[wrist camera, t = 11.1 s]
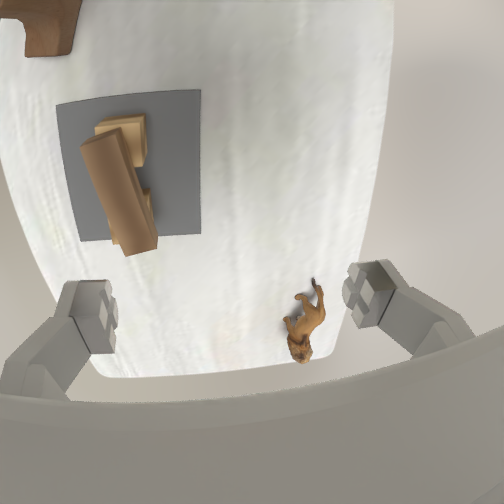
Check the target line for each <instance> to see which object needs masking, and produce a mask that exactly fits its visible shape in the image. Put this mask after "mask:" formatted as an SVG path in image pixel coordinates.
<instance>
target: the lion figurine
mask: <svg viewBox="0 0 504 504" xmlns="http://www.w3.org/2000/svg"><path fill="white" fill-rule="evenodd" d="M312 285H313V287H314V289H315V291H316V293H317V296H318V302H317V306H316V307H315V306H313V305H312V304H311V303H309V302H308V300H307V297H306V296H303V295H301V294H298V295H296V296H295V299H296V300H300V299H301V300H302V301H303V309H304V312H305V315H303V316H297V317H296V320H297V322H296V324H295V327H294V326H293V325H292V324H291V320H290V318H289V317H285V318H283V321H284V322H286V323H287V330H288V332H289V334H288V337H287V341H288V342H287V343H288V347H289V350H290V352H291V355H292V357H293V359H294V360H295V361H297V362H299V363H301V364H303V363H306V362H308V361H309V359H310V357H311V356H312V353H313V351H312V349H311V345H310V341H309V336H310V334H311V332H312V331H313V330H314V328H315V327H317V326H318V325H320V324H321V323H322V322H323V321H324V318H325V315H326V313H325V308H324V304H323V295H324V294H323V291H322V288H321V286H316V284H315V279H313V280H312Z"/></svg>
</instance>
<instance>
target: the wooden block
mask: <svg viewBox="0 0 504 504" xmlns="http://www.w3.org/2000/svg"><path fill="white" fill-rule="evenodd" d="M81 2H82V0H0V18H8V19H18V20H19V21H21V22H22V23H23V25H24V29H25V32H26V42H25V57H27V58H30V57H51V56H61V55H68V54H69V53H70V51H71V46H72V41H73V36H74V31H75V26H76V22H77V17H78V13H79V9H80V5H81Z"/></svg>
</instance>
